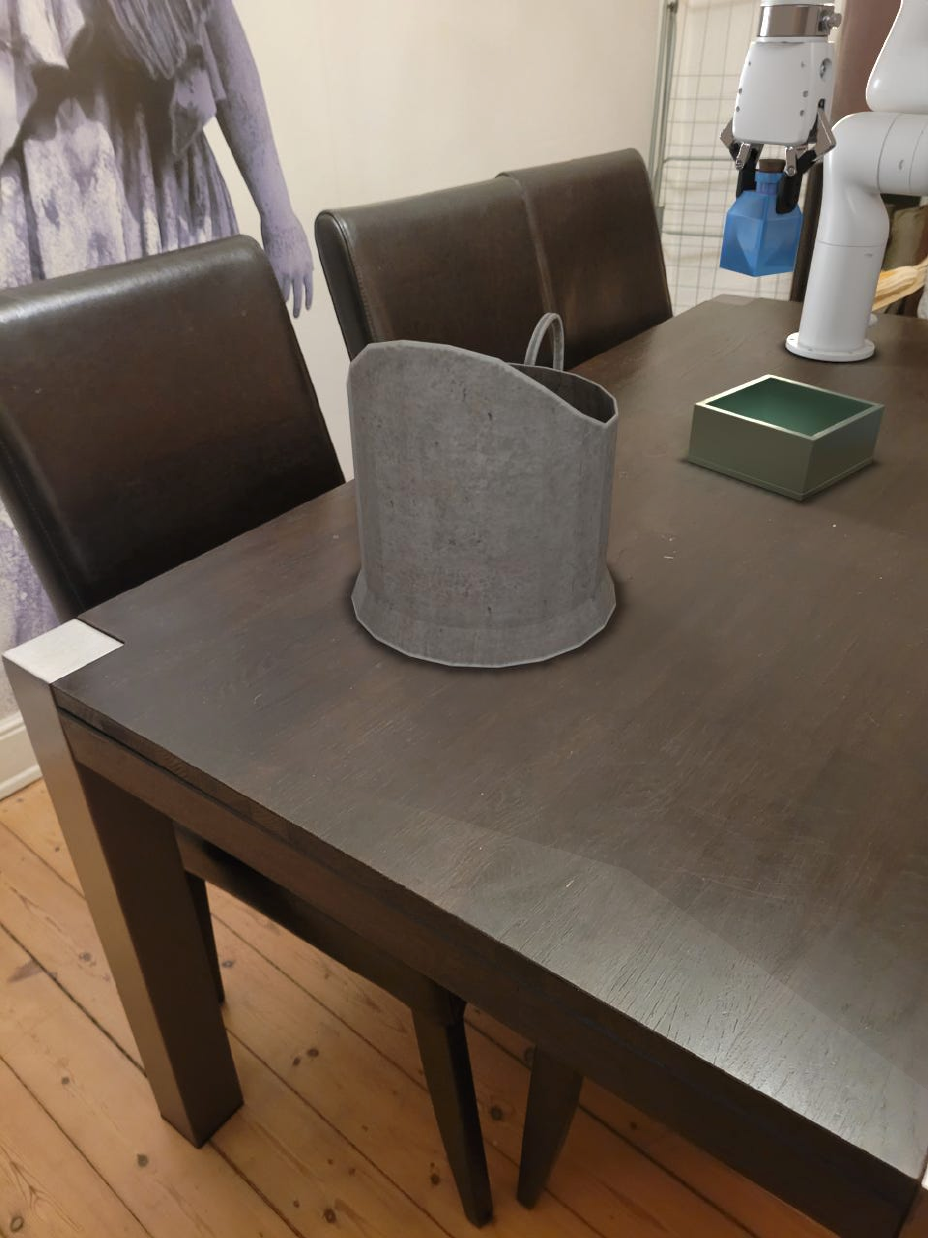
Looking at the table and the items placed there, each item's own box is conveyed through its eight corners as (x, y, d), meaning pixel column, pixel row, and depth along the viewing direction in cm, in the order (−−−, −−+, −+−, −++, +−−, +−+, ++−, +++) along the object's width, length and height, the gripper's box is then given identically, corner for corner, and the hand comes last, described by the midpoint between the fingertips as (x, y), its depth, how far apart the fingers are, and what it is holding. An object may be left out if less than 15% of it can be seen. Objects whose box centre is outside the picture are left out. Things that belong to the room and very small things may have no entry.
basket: (759, 428, 114) (768, 373, 110) (871, 462, 105) (885, 405, 101) (687, 460, 106) (694, 403, 102) (801, 501, 97) (813, 440, 93)
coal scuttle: (303, 632, 77) (264, 330, 64) (452, 482, 102) (447, 241, 88) (570, 694, 70) (591, 367, 56) (661, 517, 94) (691, 259, 80)
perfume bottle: (754, 277, 109) (771, 164, 103) (719, 266, 114) (733, 158, 107) (793, 271, 112) (812, 161, 105) (757, 261, 116) (774, 155, 110)
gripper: (885, 25, 96) (847, 214, 106) (747, 26, 107) (724, 198, 117) (847, 25, 92) (811, 222, 102) (707, 26, 103) (686, 204, 113)
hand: (764, 207), depth 109 cm, fingers closed on perfume bottle, 4 cm apart
